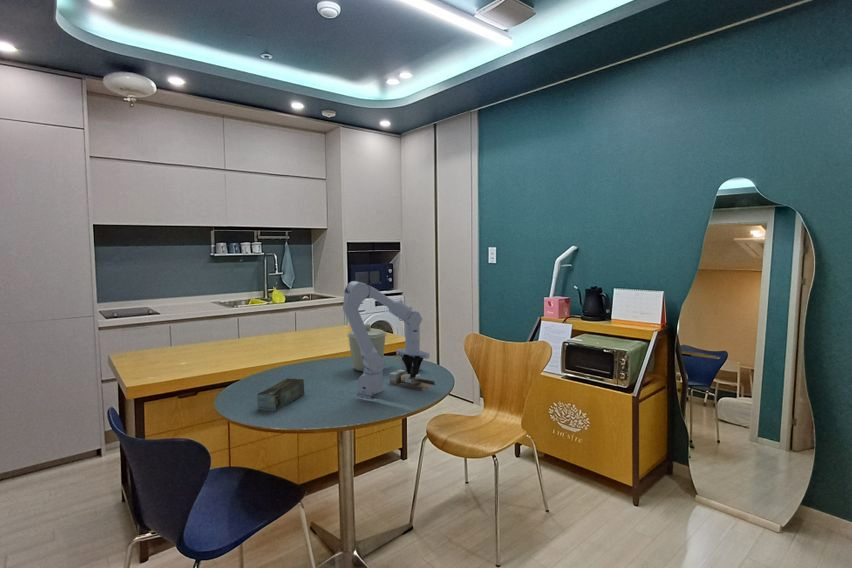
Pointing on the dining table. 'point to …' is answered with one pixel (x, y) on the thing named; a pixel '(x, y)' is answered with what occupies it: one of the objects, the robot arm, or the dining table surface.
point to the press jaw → (412, 378)
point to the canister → (377, 341)
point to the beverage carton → (280, 394)
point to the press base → (396, 381)
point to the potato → (404, 378)
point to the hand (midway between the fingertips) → (412, 374)
